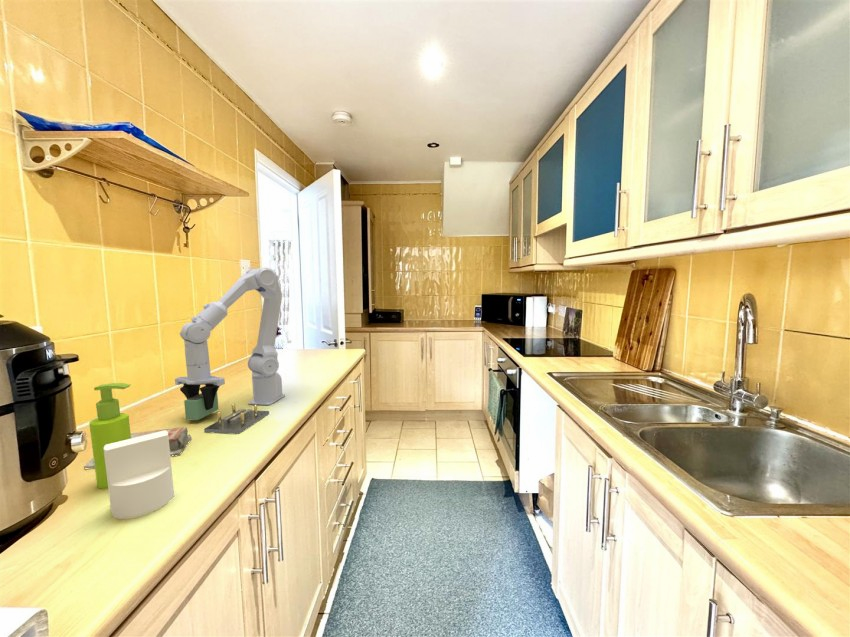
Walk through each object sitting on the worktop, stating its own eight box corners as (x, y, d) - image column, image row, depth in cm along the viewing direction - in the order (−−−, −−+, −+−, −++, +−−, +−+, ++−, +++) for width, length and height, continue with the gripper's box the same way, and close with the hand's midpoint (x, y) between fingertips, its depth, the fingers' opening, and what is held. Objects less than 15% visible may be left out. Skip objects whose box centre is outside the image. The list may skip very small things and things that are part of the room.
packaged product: (191, 421, 92) (178, 437, 82) (192, 439, 92) (180, 457, 83) (104, 432, 86) (80, 450, 77) (107, 451, 87) (83, 472, 77)
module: (206, 409, 110) (205, 390, 109) (218, 409, 109) (217, 391, 108) (185, 419, 102) (183, 399, 101) (198, 419, 101) (196, 400, 101)
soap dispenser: (129, 486, 71) (117, 387, 68) (89, 490, 69) (76, 390, 67) (147, 470, 76) (137, 379, 74) (110, 474, 75) (99, 381, 73)
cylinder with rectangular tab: (170, 483, 72) (164, 425, 70) (178, 503, 65) (171, 439, 64) (110, 502, 65) (103, 439, 64) (112, 526, 59) (104, 457, 58)
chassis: (238, 412, 109) (237, 399, 109) (269, 414, 108) (268, 400, 107) (204, 432, 95) (203, 417, 95) (238, 434, 94) (237, 418, 94)
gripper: (164, 366, 101) (169, 412, 102) (210, 367, 99) (214, 414, 100) (184, 360, 108) (188, 404, 109) (227, 361, 106) (231, 405, 107)
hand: (202, 408), depth 105 cm, fingers closed on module, 4 cm apart
